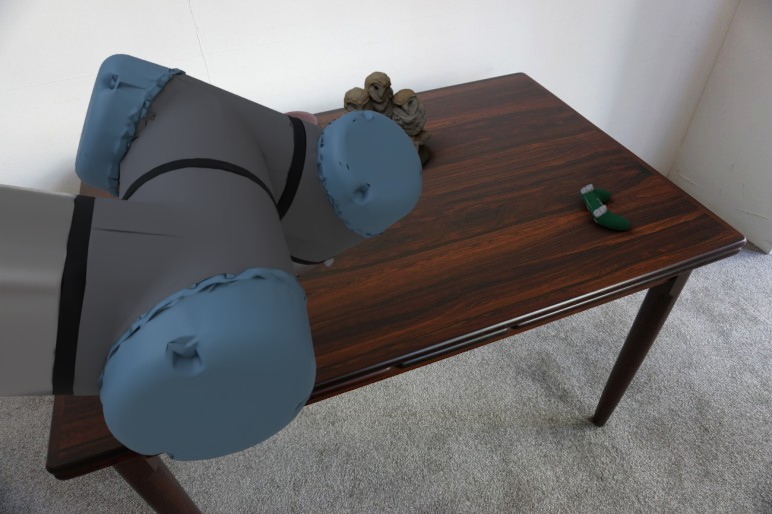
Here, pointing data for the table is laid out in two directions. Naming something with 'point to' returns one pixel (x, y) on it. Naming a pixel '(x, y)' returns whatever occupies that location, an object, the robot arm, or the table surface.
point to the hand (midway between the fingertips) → (197, 294)
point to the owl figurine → (392, 108)
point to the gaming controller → (602, 208)
